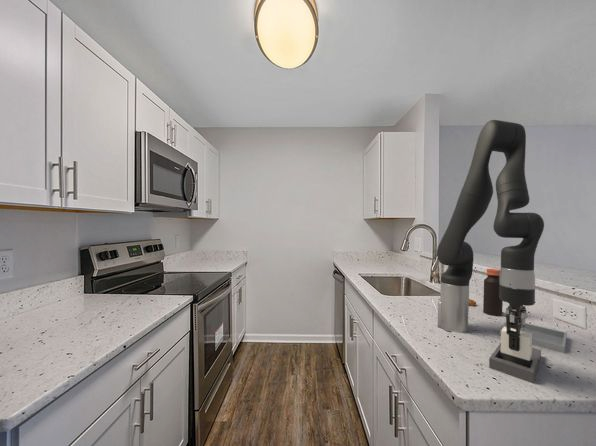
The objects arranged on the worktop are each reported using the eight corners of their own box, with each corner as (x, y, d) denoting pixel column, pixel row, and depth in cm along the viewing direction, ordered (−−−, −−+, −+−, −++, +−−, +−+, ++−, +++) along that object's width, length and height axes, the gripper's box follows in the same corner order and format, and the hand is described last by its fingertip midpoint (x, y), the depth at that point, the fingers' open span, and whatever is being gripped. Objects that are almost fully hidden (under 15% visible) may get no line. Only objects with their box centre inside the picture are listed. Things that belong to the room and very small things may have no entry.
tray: (499, 336, 91) (499, 329, 91) (508, 325, 102) (508, 319, 102) (564, 354, 79) (564, 346, 79) (566, 339, 90) (566, 332, 90)
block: (500, 352, 72) (501, 330, 72) (503, 347, 75) (504, 326, 75) (529, 360, 67) (529, 337, 67) (531, 355, 70) (531, 333, 70)
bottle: (481, 314, 114) (482, 269, 114) (485, 311, 119) (486, 267, 118) (500, 318, 109) (501, 271, 109) (503, 315, 113) (505, 270, 113)
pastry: (475, 304, 129) (475, 296, 129) (476, 308, 123) (477, 300, 123) (453, 301, 134) (453, 294, 134) (454, 304, 128) (454, 297, 128)
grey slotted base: (489, 367, 71) (489, 355, 71) (502, 347, 83) (503, 336, 83) (533, 383, 65) (533, 369, 64) (541, 358, 77) (541, 347, 77)
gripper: (504, 279, 79) (503, 335, 79) (494, 286, 69) (493, 350, 69) (537, 283, 73) (536, 344, 73) (531, 291, 64) (530, 361, 63)
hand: (515, 346), depth 71 cm, fingers closed on block, 4 cm apart
